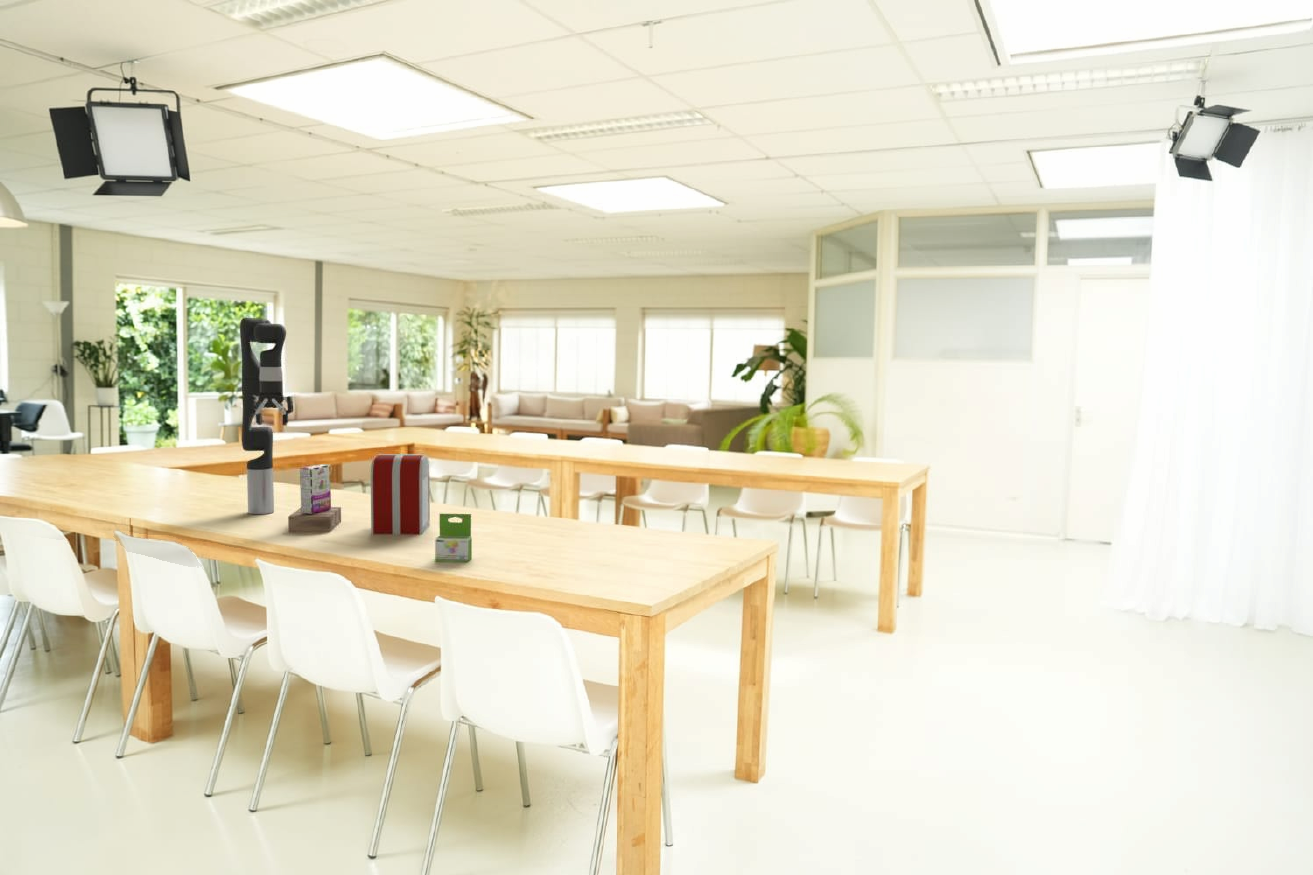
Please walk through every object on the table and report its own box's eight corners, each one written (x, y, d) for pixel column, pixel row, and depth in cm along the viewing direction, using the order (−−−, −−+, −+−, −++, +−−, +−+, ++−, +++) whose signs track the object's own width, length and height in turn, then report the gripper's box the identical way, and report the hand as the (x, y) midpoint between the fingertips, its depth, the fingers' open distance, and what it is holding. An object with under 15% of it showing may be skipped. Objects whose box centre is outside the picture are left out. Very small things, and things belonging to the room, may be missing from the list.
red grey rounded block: (381, 524, 318) (380, 451, 315) (430, 524, 319) (429, 452, 317) (370, 534, 301) (369, 457, 299) (422, 534, 303) (421, 457, 300)
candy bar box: (319, 508, 317) (319, 464, 316) (331, 509, 316) (331, 464, 315) (299, 513, 307) (299, 467, 305) (312, 514, 305) (311, 468, 304)
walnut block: (301, 523, 320) (301, 507, 319) (341, 523, 322) (340, 507, 321) (288, 533, 302) (288, 516, 302) (330, 533, 304) (330, 516, 304)
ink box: (434, 561, 265) (434, 516, 263) (438, 557, 270) (438, 513, 269) (468, 562, 265) (468, 517, 263) (472, 558, 270) (471, 513, 269)
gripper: (295, 379, 316) (295, 424, 317) (254, 379, 314) (255, 423, 316) (288, 380, 308) (289, 425, 310) (246, 379, 307) (247, 425, 308)
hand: (272, 424), depth 313 cm, fingers open, 8 cm apart
